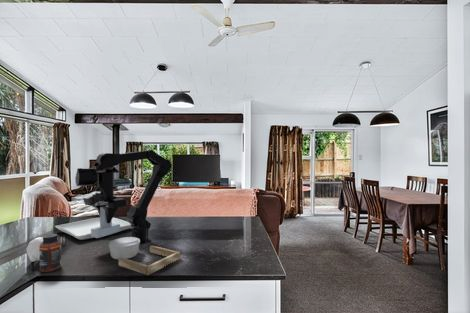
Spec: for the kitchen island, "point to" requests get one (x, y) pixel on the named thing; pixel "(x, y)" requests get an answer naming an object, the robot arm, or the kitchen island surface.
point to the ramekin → (124, 247)
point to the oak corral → (146, 269)
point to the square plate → (88, 227)
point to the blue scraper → (104, 226)
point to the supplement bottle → (50, 253)
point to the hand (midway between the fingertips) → (106, 222)
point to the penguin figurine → (34, 249)
